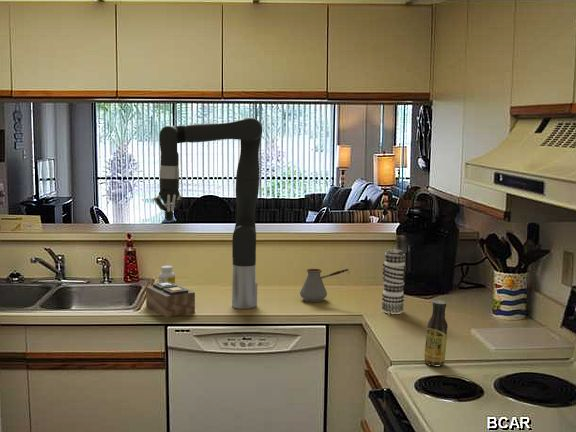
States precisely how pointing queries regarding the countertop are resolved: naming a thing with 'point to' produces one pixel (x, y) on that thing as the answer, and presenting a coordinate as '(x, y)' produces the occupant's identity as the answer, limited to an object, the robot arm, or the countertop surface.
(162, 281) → the supplement bottle
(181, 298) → the walnut block
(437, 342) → the sauce bottle
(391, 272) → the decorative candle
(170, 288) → the ochre peg
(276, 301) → the countertop surface
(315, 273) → the coffee pot
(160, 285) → the grey metal peg
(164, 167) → the robot arm
